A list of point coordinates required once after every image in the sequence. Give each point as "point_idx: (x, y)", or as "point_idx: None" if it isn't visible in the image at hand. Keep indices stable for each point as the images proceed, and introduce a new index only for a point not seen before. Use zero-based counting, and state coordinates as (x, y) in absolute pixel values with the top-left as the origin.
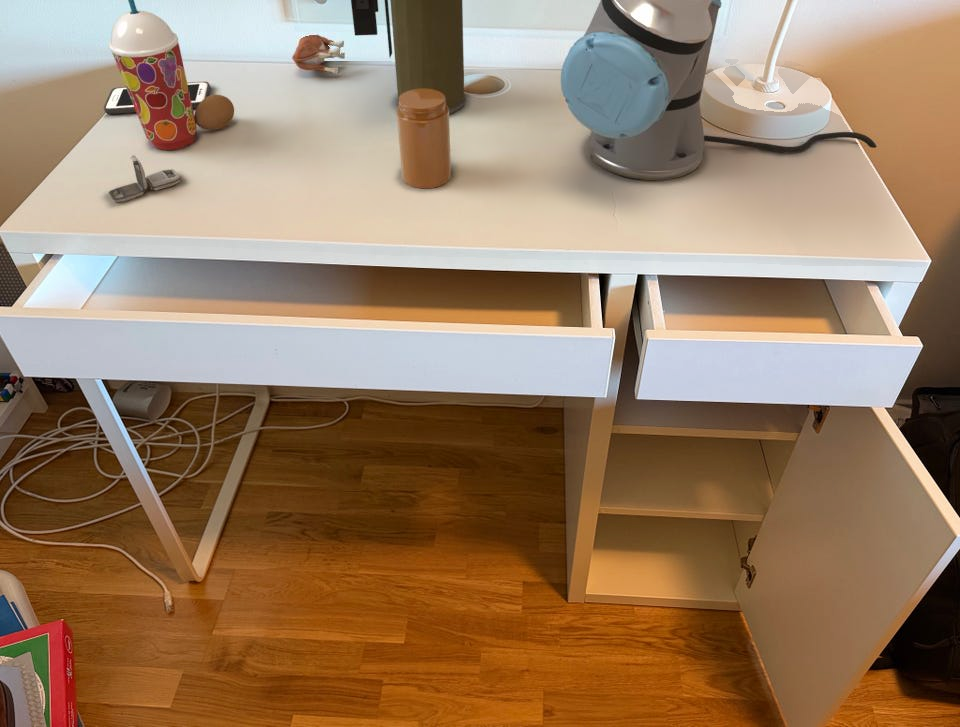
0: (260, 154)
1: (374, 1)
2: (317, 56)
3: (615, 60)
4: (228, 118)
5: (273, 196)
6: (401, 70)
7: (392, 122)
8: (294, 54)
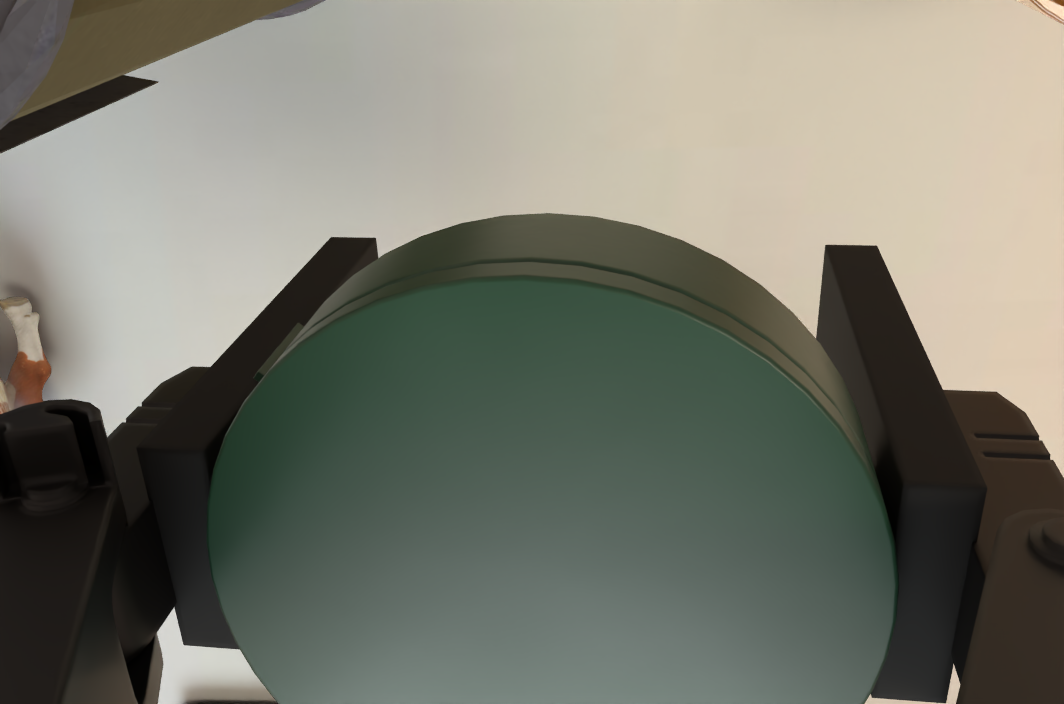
0: None
1: (877, 351)
2: (7, 407)
3: None
4: None
5: None
6: (262, 8)
7: (456, 38)
8: None
